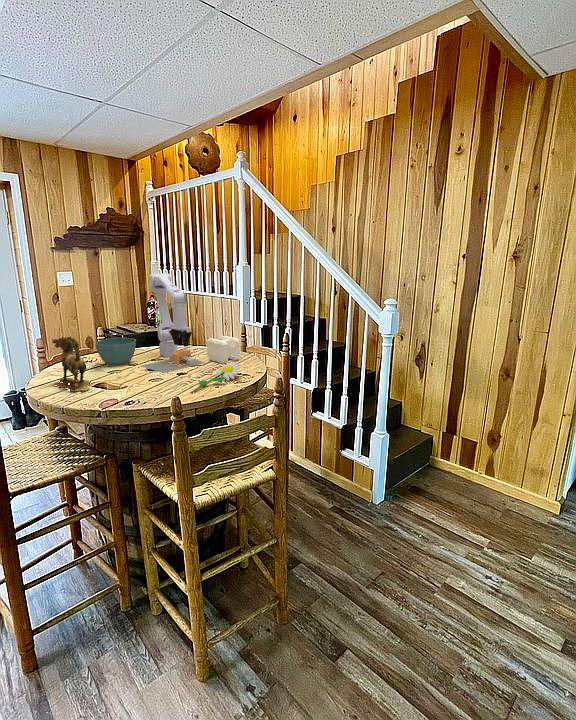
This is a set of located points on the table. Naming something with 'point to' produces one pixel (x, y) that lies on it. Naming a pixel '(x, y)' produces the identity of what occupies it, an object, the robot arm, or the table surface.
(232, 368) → the decorative flower
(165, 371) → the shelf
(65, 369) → the figurine
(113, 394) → the table surface
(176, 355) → the orange arch block
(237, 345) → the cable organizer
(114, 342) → the plant pot
